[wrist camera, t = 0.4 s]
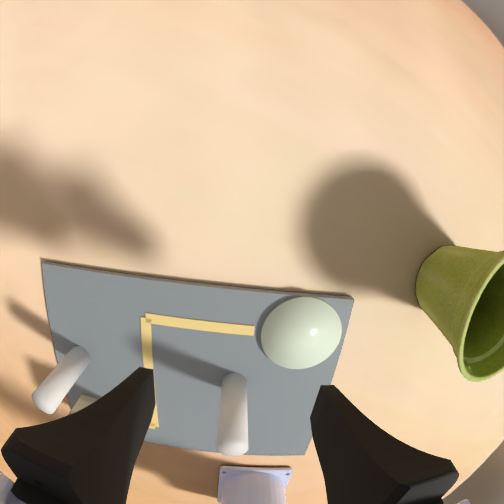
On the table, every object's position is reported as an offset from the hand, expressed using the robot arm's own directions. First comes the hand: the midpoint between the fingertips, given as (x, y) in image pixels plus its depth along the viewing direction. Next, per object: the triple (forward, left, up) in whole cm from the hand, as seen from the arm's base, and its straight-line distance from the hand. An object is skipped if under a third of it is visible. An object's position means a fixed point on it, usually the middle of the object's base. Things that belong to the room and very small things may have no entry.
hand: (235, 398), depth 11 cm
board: (-8, +4, -10) cm, 13 cm away
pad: (-2, -5, -10) cm, 11 cm away
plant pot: (+3, -17, -10) cm, 20 cm away
